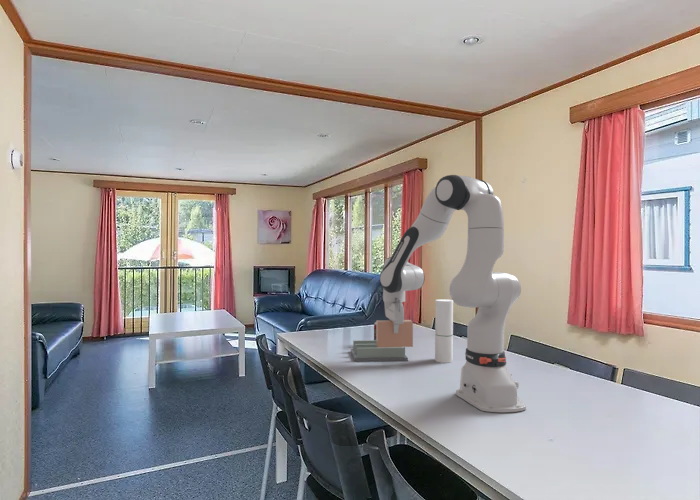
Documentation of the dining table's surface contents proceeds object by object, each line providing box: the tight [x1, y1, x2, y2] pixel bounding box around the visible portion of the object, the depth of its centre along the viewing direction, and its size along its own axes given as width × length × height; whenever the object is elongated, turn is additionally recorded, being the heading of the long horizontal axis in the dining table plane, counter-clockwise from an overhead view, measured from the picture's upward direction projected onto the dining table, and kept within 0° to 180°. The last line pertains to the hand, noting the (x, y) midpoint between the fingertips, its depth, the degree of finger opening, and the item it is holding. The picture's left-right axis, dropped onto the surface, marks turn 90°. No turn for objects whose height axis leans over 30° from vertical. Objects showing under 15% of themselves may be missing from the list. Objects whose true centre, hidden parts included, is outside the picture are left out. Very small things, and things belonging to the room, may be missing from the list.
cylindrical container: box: [434, 298, 454, 364], centre depth 177 cm, size 7×7×25 cm
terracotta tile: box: [375, 319, 414, 348], centre depth 171 cm, size 4×14×10 cm, turn 96°
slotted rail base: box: [350, 339, 409, 363], centre depth 184 cm, size 17×22×5 cm
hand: (394, 331), depth 171 cm, fingers closed on terracotta tile, 4 cm apart
